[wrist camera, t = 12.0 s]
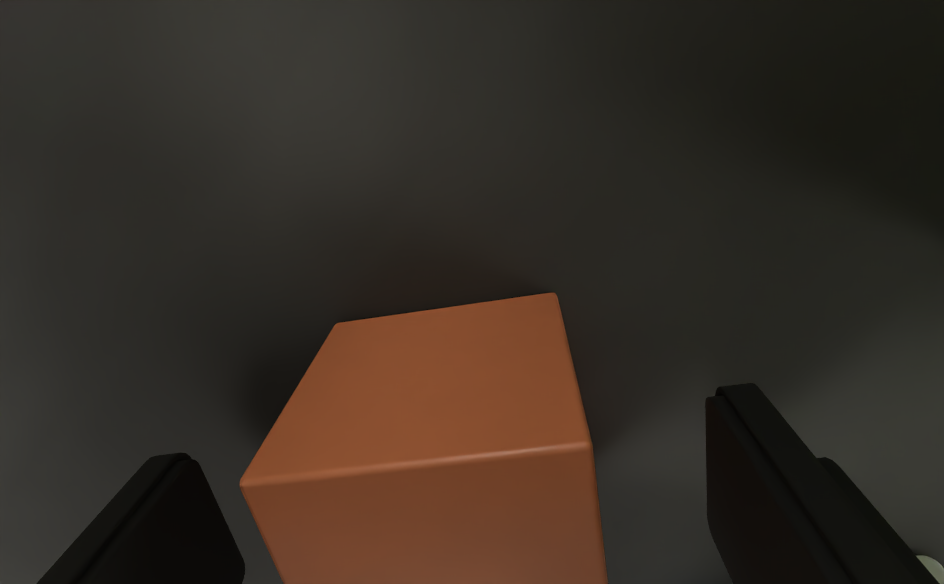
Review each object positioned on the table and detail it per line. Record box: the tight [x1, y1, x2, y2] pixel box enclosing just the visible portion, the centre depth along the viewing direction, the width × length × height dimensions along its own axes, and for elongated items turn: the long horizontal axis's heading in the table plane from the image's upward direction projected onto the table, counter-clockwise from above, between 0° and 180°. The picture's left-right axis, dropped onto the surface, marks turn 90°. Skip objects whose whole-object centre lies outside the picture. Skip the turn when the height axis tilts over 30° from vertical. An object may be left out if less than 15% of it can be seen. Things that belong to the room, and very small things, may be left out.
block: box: [240, 293, 608, 584], centre depth 9 cm, size 4×4×4 cm
